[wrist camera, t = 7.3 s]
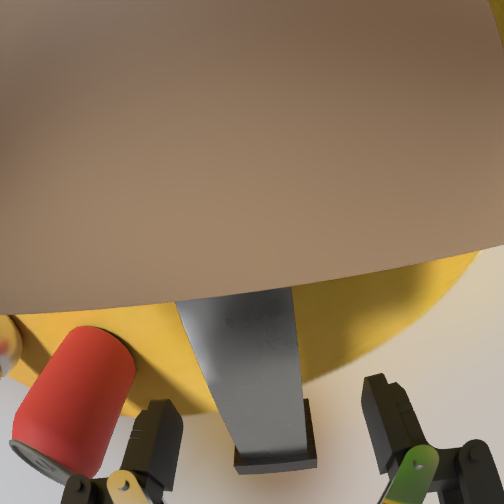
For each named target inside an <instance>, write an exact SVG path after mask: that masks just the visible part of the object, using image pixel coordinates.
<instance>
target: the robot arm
mask: <svg viewBox="0 0 504 504" xmlns="http://www.w3.org/2000/svg"><path fill="white" fill-rule="evenodd" d="M361 404H362V409H363V414H364V417H365V420H366V424H367V427H368V431H369V434H370V438H371V441H372V445H373V448H374V452H375V456H376V460H377V464H378V467H379V471H380V474H384V473H388V475H389V479H390V480H389V482H388V484H387V486H386V488H385V490H384V492H383V493H382V496H381V497H380V499H379V501H378V503H377V504H422V503H423V501H424V498H425V496H426V494H427V493H428V492H437V493H438V498H439V502H440V504H504V490H503V487H502V484H501V480H500V477H499V474H498V471H497V468H496V466H495V463H494V460H493V457H492V454H491V452H490V450H489V447H488V445H487V444H486V443H485V442H484V441H482V440H478V439H474V440H470V441H468V442H467V443H466V444H465V445H463V447H459V448H451V449H437V448H435V447H433V446H431V445H430V444H429V443H428V442H427V441H426V439H425V436H424V434H423V432H422V429H421V427H420V424H419V422H418V419H417V417H416V414H415V412H414V411H413V407H412V405H411V403H410V402H409V398H408V396H407V393H406V391H405V390H404V389H403V388H402V387H401V386H400V385H399V384H398V383H397V382H395V383H391V384H388V383H387V380H386V378H385V376H384V374H383V373H380V374H376V375H372V376H368V377H365V378H364V384H363V391H362V398H361ZM182 433H183V421H182V418H181V416H180V415H179V413H178V411H177V410H176V408H175V407H174V405H173V403H172V402H171V400H169V399H152V400H151V401H150V403H149V406H148V410H142V411H141V413H140V414H139V415H138V416H137V418H136V419H135V422H134V425H133V431H132V432H131V435H130V439H129V441H128V445H127V448H126V451H125V455H124V458H123V462H122V465H121V468H120V469H119V470H118V471H115V472H113V473H112V474H111V475H110V476H109V477H107V478H98V479H89V478H88V477H86V476H85V475H83V474H74V475H72V476H70V477H69V478H68V480H67V482H66V485H65V489H64V492H63V496H62V500H61V504H167V503H166V501H165V500H164V498H163V497H162V496H163V491H172V490H173V484H174V477H175V472H176V466H177V461H178V455H179V449H180V444H181V439H182Z"/></svg>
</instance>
